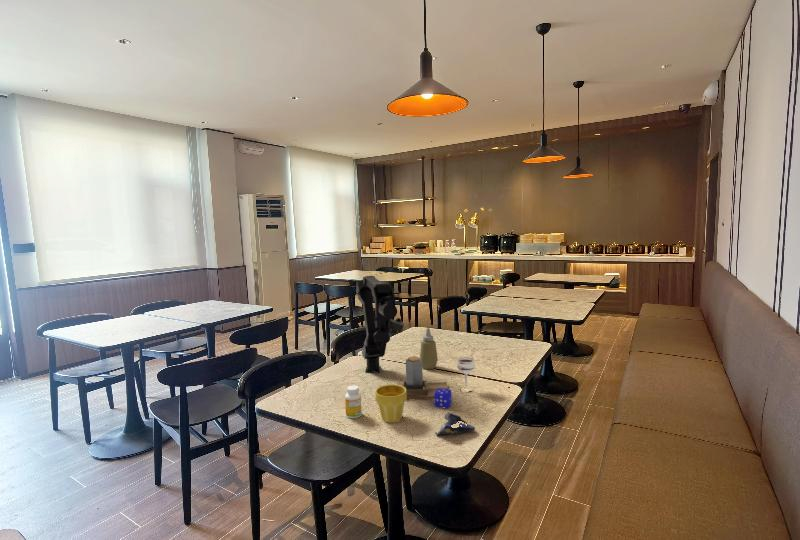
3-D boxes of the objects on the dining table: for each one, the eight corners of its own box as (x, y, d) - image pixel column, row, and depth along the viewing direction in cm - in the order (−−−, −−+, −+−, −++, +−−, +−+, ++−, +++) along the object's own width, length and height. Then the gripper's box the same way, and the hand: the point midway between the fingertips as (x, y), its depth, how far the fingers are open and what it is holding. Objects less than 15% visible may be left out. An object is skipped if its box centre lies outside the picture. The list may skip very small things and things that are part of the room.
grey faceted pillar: (406, 389, 161) (405, 357, 159) (416, 387, 163) (415, 355, 162) (413, 393, 157) (412, 360, 156) (422, 390, 159) (422, 358, 158)
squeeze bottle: (441, 366, 190) (440, 327, 188) (432, 371, 183) (431, 331, 182) (425, 363, 195) (424, 325, 193) (416, 368, 188) (415, 329, 186)
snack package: (433, 423, 136) (434, 440, 125) (436, 404, 136) (437, 419, 124) (470, 429, 136) (474, 447, 124) (473, 410, 135) (478, 426, 124)
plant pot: (382, 428, 133) (381, 398, 132) (371, 415, 142) (370, 387, 141) (412, 421, 137) (411, 392, 136) (399, 409, 146) (398, 382, 145)
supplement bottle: (347, 411, 146) (346, 384, 145) (362, 411, 145) (361, 384, 144) (344, 418, 140) (343, 390, 139) (360, 418, 140) (359, 390, 139)
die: (448, 408, 146) (448, 394, 145) (434, 407, 148) (434, 393, 147) (451, 403, 151) (451, 389, 150) (438, 401, 152) (437, 388, 152)
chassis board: (396, 385, 168) (396, 378, 168) (446, 384, 168) (446, 377, 168) (395, 399, 154) (395, 392, 154) (450, 398, 154) (450, 390, 154)
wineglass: (478, 389, 162) (478, 359, 161) (468, 394, 157) (468, 363, 156) (463, 385, 167) (463, 356, 165) (453, 390, 162) (453, 360, 160)
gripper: (402, 318, 159) (403, 358, 161) (402, 309, 178) (403, 345, 179) (373, 319, 159) (374, 359, 161) (376, 309, 178) (377, 345, 179)
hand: (383, 352), depth 170 cm, fingers open, 9 cm apart
